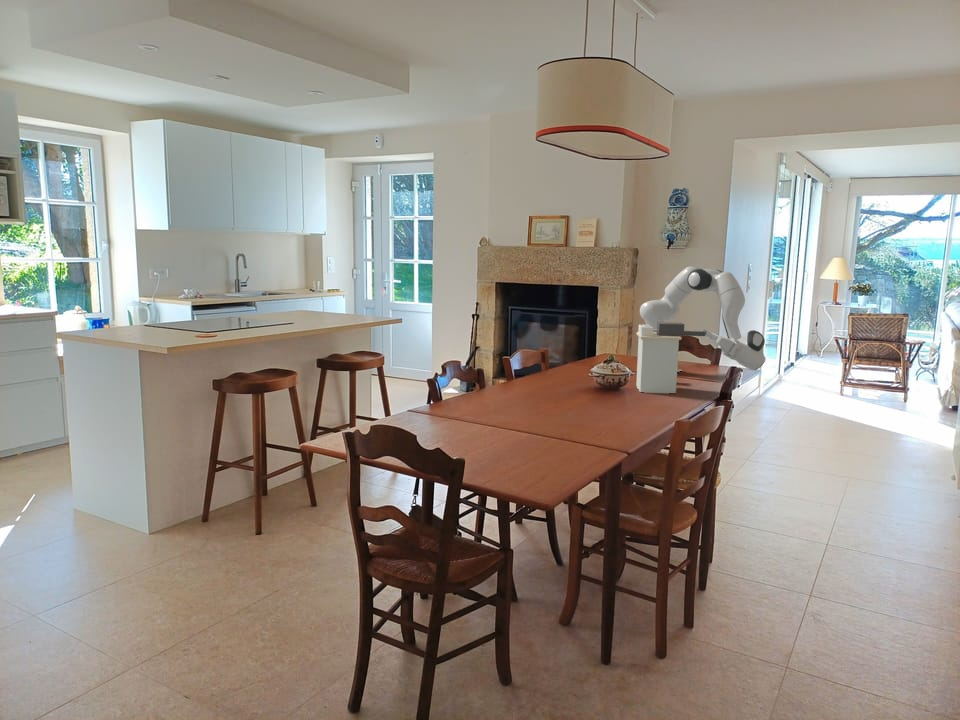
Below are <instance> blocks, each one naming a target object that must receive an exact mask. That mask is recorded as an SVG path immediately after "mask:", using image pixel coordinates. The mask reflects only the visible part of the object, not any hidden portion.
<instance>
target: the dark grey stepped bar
mask: <svg viewBox="0 0 960 720" xmlns="http://www.w3.org/2000/svg"><path fill="white" fill-rule="evenodd" d="M653 332H657V335H658V336H680V337H685V336H686V337H706V335H705V331H703V330H685V324H684V323H683V322H667V321H666V322H665V321H664V322H657V329H653Z"/></svg>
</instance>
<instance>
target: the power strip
mask: <svg viewBox="0 0 960 720" xmlns="http://www.w3.org/2000/svg"><path fill="white" fill-rule="evenodd" d="M637 332H638V333H639V334H640V335H641V336H653V327H651V326H650V325H646V324H643V323H640V324H638V330H637Z"/></svg>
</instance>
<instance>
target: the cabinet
mask: <svg viewBox="0 0 960 720" xmlns="http://www.w3.org/2000/svg"><path fill="white" fill-rule="evenodd" d="M635 334H636V335H637V337H638V342H637V343H638V346H637V363H636V364H637V365H636V382H635V383H636V384H635V385H636V388H637V390H638V389H639V390H638V391H639V393H640V392H644V393H646V394H669V393H676V394H677V383H678V382H677V381H678V380H677V379H678V373H677V366H678V367H679V361H678V360H679V345H680V343H679V342H680V341H681V340H682V339H683V338H682V336H658V335H657V333H653V336H641V335H640V334H639V333H638V331H636V333H635ZM644 393H643V394H644Z"/></svg>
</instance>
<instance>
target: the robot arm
mask: <svg viewBox="0 0 960 720" xmlns="http://www.w3.org/2000/svg"><path fill="white" fill-rule="evenodd" d="M694 290H695V291H697V292H699V291H700V292H715V293H716V295H717V298H718V300H719V303H720V307H721V319H722V322H723V326H724V329H725V333H726V336H727V338H725V337H723V336H720V335H718V334H716V333H715V332H710V331H707V330H706V329H702V331H705V337H707V339H708V340H709V341H711V342H713V343H715V344H716V345H718V346H719V347H720V350H721V354H722V355H724V356H725V357H727V358H728V359H731V360H733V361H735V362H737V363H738V364H739V365H741V366H742V367H744V368H745V369H748V370H750V371H757V370H758V369H760V368H761V367H763V365H764V363H766V359H767V358H766V357H765V354H764V348H765V347H764V345H765V343H766V341H765V340H766V339H765V337H764V335H763V334H762V333H761V332H759V331H757V330H755V329H753V330H749V331H747V332H745V334H743V335H741V329H740V328H739V324H738V319H739V317H740V314H741V311H742V310H743V308H744V306H745V303H746V298H745V297H746V296H745V294H744V291H743V290H742V286H740V283H739V282H738V280H737V279H736V277H735V275H734V273H733V274H732V272H729V271H722V270H719V269H713V268H697V267H695V266H687V267H685V268H683V269H682V270H681V271H680V272H679V273H678V274H677V275H676V276H675V277H674V278H673V279H672V281H670V282H669V284H668V285H667V286H666V287H665V289H664V295H663V297H662V298H659V299H654V300H653V299H652V300H651V299H650V300H649V301H646V302H644V303H642V304H641V305H640V308H639V315H640V317H641V318H642V320H644V322H645V325H650V326H651V327H653V329H657V322H665V321H668V320H670V321H671V320H672V319H675V318H677V317H678V315H679V314H680V306H681V304H682V303H683V302H684V300H685V299H686V298H687V297H688V296H689V295H690V294H691V293H692V292H693V291H694ZM653 333H657V332H653ZM678 367H679V365H678V366H677V372H679V371H682V372H683V369H682V368H678ZM679 373H680V372H679Z"/></svg>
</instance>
